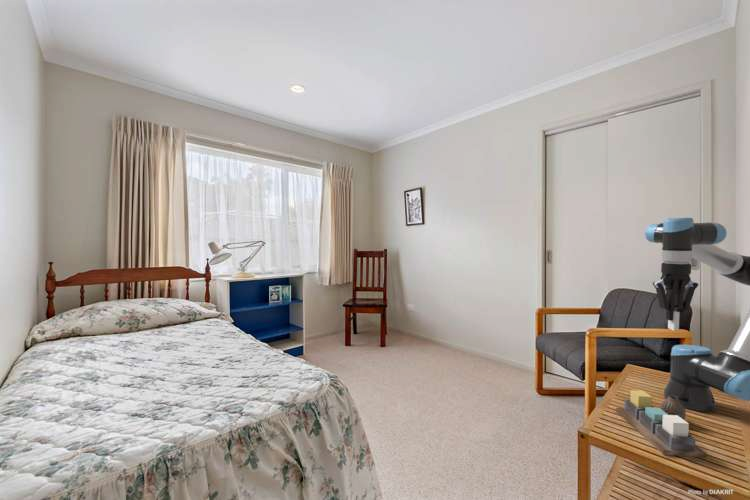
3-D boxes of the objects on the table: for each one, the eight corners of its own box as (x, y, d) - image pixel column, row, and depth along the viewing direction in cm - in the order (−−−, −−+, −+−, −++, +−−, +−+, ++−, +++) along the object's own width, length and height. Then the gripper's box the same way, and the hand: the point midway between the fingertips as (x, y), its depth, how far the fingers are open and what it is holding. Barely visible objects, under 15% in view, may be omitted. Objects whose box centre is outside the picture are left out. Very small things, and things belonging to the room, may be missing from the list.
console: (649, 412, 123) (650, 399, 123) (705, 457, 99) (706, 440, 99) (616, 411, 125) (616, 397, 124) (663, 454, 101) (663, 438, 100)
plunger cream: (676, 429, 106) (677, 415, 105) (688, 438, 101) (688, 423, 101) (662, 428, 106) (662, 414, 106) (672, 437, 102) (673, 422, 101)
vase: (687, 428, 114) (689, 404, 113) (662, 422, 117) (663, 399, 117) (682, 418, 120) (683, 395, 119) (658, 412, 123) (659, 390, 123)
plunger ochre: (642, 403, 121) (643, 390, 121) (651, 409, 117) (651, 396, 117) (630, 402, 122) (630, 390, 122) (638, 409, 118) (638, 396, 117)
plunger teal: (658, 421, 114) (658, 407, 113) (667, 428, 109) (668, 414, 109) (644, 420, 114) (645, 407, 114) (653, 428, 110) (654, 414, 110)
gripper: (687, 261, 113) (684, 326, 114) (647, 261, 114) (645, 325, 116) (707, 263, 105) (703, 333, 107) (663, 264, 107) (660, 332, 109)
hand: (673, 329), depth 112 cm, fingers closed
